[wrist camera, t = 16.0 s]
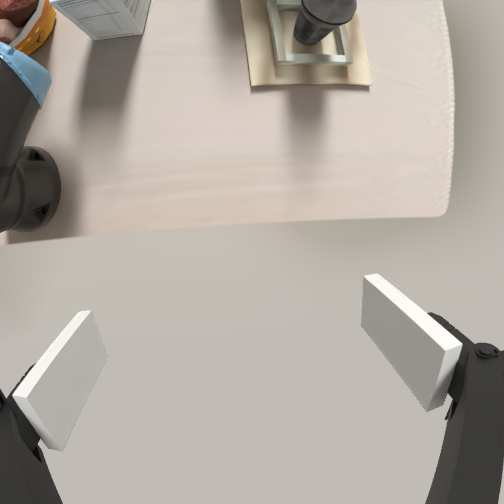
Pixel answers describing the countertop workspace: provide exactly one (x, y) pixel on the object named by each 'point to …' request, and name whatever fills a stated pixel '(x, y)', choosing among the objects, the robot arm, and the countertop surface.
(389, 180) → the countertop surface
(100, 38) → the supplement box
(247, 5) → the cup holder
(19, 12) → the bucket of meat
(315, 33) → the beverage cup
